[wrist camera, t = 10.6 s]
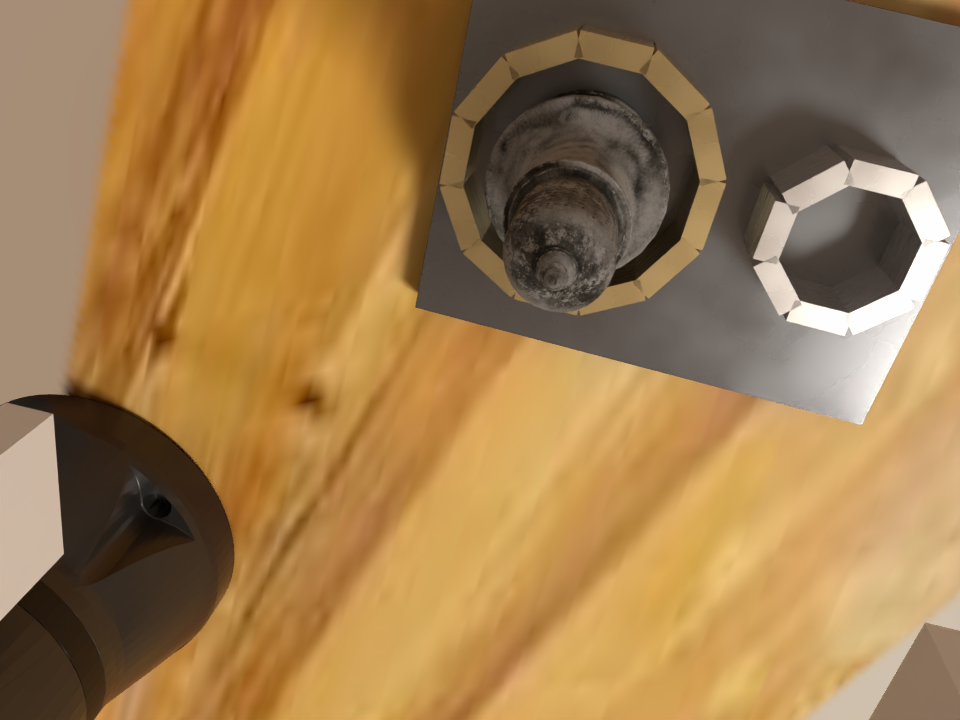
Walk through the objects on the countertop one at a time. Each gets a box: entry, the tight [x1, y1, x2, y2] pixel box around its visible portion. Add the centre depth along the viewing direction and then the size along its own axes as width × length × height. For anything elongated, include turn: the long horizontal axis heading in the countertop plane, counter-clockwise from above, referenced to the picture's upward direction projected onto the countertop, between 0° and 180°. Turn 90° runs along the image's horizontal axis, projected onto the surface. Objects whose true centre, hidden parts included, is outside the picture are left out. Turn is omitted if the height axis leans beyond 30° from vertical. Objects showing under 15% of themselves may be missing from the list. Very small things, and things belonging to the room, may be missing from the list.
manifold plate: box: [415, 0, 960, 425], centre depth 28 cm, size 18×14×4 cm
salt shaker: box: [484, 90, 670, 312], centre depth 24 cm, size 6×6×12 cm
